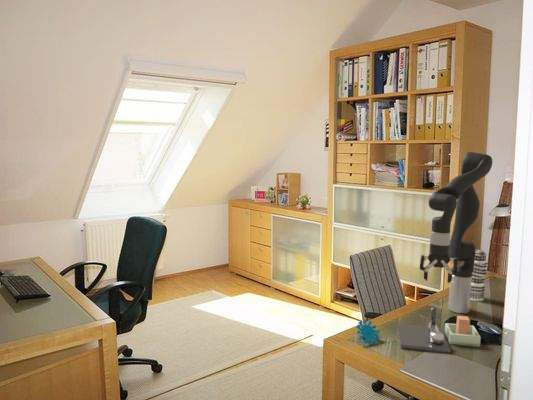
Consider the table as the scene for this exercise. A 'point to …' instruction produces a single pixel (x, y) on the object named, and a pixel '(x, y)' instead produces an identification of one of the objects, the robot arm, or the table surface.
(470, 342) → the tray
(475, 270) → the decorative candle
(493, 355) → the table surface
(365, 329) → the gear
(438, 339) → the crank
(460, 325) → the block
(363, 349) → the table surface
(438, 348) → the base plate
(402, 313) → the table surface
